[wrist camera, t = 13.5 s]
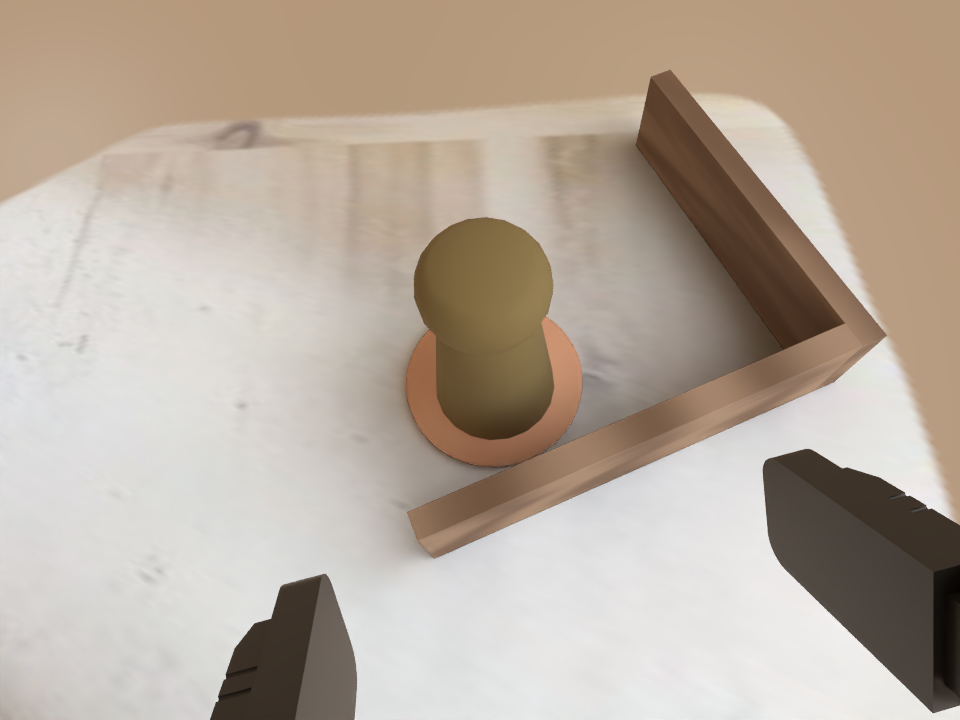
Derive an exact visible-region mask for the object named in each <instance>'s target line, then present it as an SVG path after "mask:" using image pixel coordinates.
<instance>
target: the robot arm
mask: <svg viewBox="0 0 960 720" xmlns="http://www.w3.org/2000/svg"><path fill="white" fill-rule="evenodd" d="M763 481H764V492H765V504H766V516H767V527H768V536H769V540H770V544H771V547H772V549H773V551H774V554H775V555H776V557H777V559H778V561H779V562H780V564H781V565H782V566H783V567H784V569H785V570H786V571H787V572H788V573H789V574H790V575H791V576H792V577H794V578H795V579H796V580H797V581H798V582H799V583H800V584H801V585H802V586H803V587H804V588H805V589H806V590H807V591H808V592H809V593H810V594H811V595H812V596H813V597H814V598H815V599H816V600H817V601H818V602H819V603H820V604H821V605H822V606H823V607H824V608H825V609H826V610H827V611H828V612H830V613H831V614H832V615H833V616H834V617H835V618H836V619H837V620H838V621H839V622H840V623H841V624H842V625H843V626H844V627H845V628H846V629H847V630H848V631H849V632H850V633H851V634H852V635H853V636H854V637H855V638H856V639H857V640H858V641H859V642H860V643H861V644H862V645H863V646H864V647H865V648H867V649H868V650H869V651H870V652H871V653H872V654H873V655H874V656H875V657H876V658H877V659H878V660H879V661H880V662H881V663H882V664H883V665H884V666H885V667H886V668H887V669H888V670H889V671H890V672H891V673H892V674H893V675H894V676H895V677H896V678H897V679H898V680H899V681H900V682H901V683H902V684H904V685H905V686H906V687H907V688H908V689H909V690H910V691H911V692H912V693H913V694H914V695H915V696H916V697H917V698H918V699H919V700H920V701H921V702H922V703H923V704H924V705H925V706H926V707H927V708H928V709H929V710H930V711H931V712H932V713H936V712H939V711H942V710H946V709H949V708H952V707H956V706H959V705H960V525H958V524H957V523H955V522H953V521H952V520H950V519H948V518H947V517H945V516H943V515H942V514H940V513H938V512H937V511H935V510H933V509H929V510H928V509H927V507H926V505H925V504H923V503H921V502H920V501H918V500H916V499H915V498H913V497H911V496H906V495H905V492H903V491H901V490H900V489H898V488H896V487H894V486H893V485H891V484H889V483H888V482H886V481H884V480H883V479H881V478H879V477H876V476H873V475H870V474H866V473H863V472H860V471H857V470H853V469H850V468H843V469H842V468H840V467H839V466H837V465H836V464H834V463H832V462H831V461H829V460H828V459H826V458H824V457H823V456H821V455H820V454H818V453H816V452H815V451H813V450H810V449H804V450H800V451H797V452H793V453H789V454H785V455H781V456H777V457H774V458H770V459H767V460H766V461H765V463H764V465H763ZM356 691H357V672H356V663H355V657H354V652H353V648H352V645H351V642H350V639H349V636H348V632H347V629H346V626H345V623H344V620H343V617H342V614H341V611H340V608H339V605H338V602H337V599H336V596H335V593H334V590H333V587H332V584H331V582H330V579H329V578H328V576H327V575H326V574H322V575H318V576H315V577H311V578H307V579H303V580H299V581H295V582H292V583H288V584H284V585H282V586H281V588H280V590H279V593H278V597H277V600H276V604H275V607H274V611H273V614H272V618H271V619H269V620H265V621H262V622H258V623H255V624H254V625H253V626H252V627H251V629H250V630H249V631H248V632H247V634H246V635H245V636H244V637H243V639H242V640H241V641H240V643H239V644H238V645H237V646H236V648H235V649H234V652H233V655H232V658H231V661H230V664H229V666H228V669H227V672H226V679H225V680H224V681H223V684H222V687H221V690H220V692H219V695H218V698H219V701H218V702H216V704H215V707H214V710H213V713H212V716H211V718H210V720H354V717H355V704H356Z"/></svg>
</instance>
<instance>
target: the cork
mask: <svg viewBox="0 0 960 720" xmlns="http://www.w3.org/2000/svg"><path fill="white" fill-rule="evenodd" d="M552 293H553V280H552V273H551V266H550V264H549V261H548V259H547V257H546V255H545V253H544V251H543V250H542V248H541V246H540V244H539V243H538V242H537V241H536V240H535V239H534V238H533V237H532V236H530V235H529V234H528V233H527V232H526V231H525V230H523V229H521V228H520V227H518V226H515V225H513V224H511V223H509V222H507V221H505V220H499V219H493V218H487V217H486V218H475V219H467V220H464V221H462V222H459V223H456V224H453V225H451V226H449V227H448V228H447V229H445V230H444V231H442V232H441V233H439V234H438V235H437V236H436V237H435V238H434V239H433V240H432V241H431V242H430V243H429V245H428V246H427V247H426V249H425V250H424V251H423V252H422V254H421V256H420V259H419V261H418V264H417V267H416V270H415V275H414V299H415V301H416V304H417V307H418V309H419V312H420V314H421V317H422V319H423V322H424V324H425V325H426V326H427V327H428V328H429V329H430V330H431V331H432V332H433V333H434V334H435V336H436V388H437V399H438V401H439V404H440V406H441V409H442V411H443V413H444V415H445V416H446V417H447V418H448V419H449V420H450V421H451V423H452V424H453V425H454V426H455V427H457V428H458V429H460V430H462V431H463V432H465V433H467V434H468V435H470V436H473V437H478V438H482V439H487V440H498V439H509V438H512V437H514V436H517V435H519V434H521V433H524V432H526V431H528V430H529V429H530V428H531V427H533V426H534V425H535V424H536V423H537V422H539V421H540V420H541V419H542V417H543V416H544V414H545V412H546V411H547V409H548V408H549V406H550V404H551V400H552V396H553V391H554V379H553V371H552V366H551V362H550V358H549V353H548V349H547V345H546V340H545V336H544V331H543V327H542V323H541V322H542V321H543V319H544V318H545V316H546V315H547V313H548V310H549V306H550V302H551V297H552Z"/></svg>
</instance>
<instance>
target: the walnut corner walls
mask: <svg viewBox="0 0 960 720" xmlns="http://www.w3.org/2000/svg"><path fill="white" fill-rule="evenodd" d="M636 145H637V147H638V148H639V149H640V151H641V152H642V153H643V155H644V156H645V158H646V159H647V160H648V162H649V163H650V165H651V166H652V167H653V169H654V170H655V172H656V173H657V174H658V176H659V177H660V178H661V180H662V181H663V183H664V184H665V185H666V187H667V188H668V190H669V191H670V192H671V194H672V195H673V196H674V198H675V199H676V201H677V202H678V203H679V205H680V206H681V208H682V209H683V210H684V212H685V213H686V214H687V216H688V217H689V219H690V220H691V221H692V223H693V224H694V226H695V227H696V228H697V230H698V231H699V232H700V234H701V235H702V237H703V238H704V239H705V241H706V242H707V244H708V245H709V246H710V248H711V249H712V250H713V252H714V253H715V255H716V256H717V257H718V259H719V260H720V262H721V263H722V264H723V266H724V267H725V269H726V270H727V271H728V273H729V274H730V275H731V277H732V278H733V280H734V281H735V282H736V284H737V285H738V287H739V288H740V289H741V291H742V292H743V293H744V295H745V296H746V298H747V299H748V300H749V302H750V303H751V305H752V306H753V307H754V309H755V310H756V311H757V313H758V314H759V316H760V317H761V318H762V320H763V321H764V323H765V324H766V325H767V327H768V328H769V329H770V331H771V332H772V334H773V335H774V336H775V338H776V339H777V341H778V342H779V343H780V345H781V346H782V347H783V349H784V350H782V351H780V352H778V353H775V354H773V355H771V356H768V357H766V358H764V359H761V360H759V361H757V362H754V363H752V364H750V365H747V366H745V367H743V368H740V369H738V370H736V371H734V372H731V373H729V374H727V375H724V376H722V377H720V378H717V379H715V380H713V381H710V382H708V383H706V384H703V385H701V386H699V387H696V388H694V389H692V390H690V391H687V392H685V393H683V394H680V395H678V396H676V397H673V398H671V399H669V400H666V401H664V402H662V403H659V404H657V405H655V406H652V407H650V408H648V409H645V410H643V411H641V412H639V413H636V414H634V415H632V416H629V417H627V418H625V419H622V420H620V421H618V422H615V423H613V424H611V425H608V426H606V427H604V428H601V429H599V430H597V431H594V432H592V433H590V434H588V435H585V436H583V437H581V438H578V439H576V440H574V441H571V442H569V443H567V444H564V445H562V446H560V447H557V448H555V449H553V450H550V451H548V452H546V453H544V454H541V455H539V456H537V457H534V458H532V459H530V460H527V461H525V462H523V463H520V464H518V465H516V466H513V467H511V468H509V469H506V470H504V471H502V472H499V473H497V474H495V475H493V476H490V477H488V478H486V479H483V480H481V481H479V482H476V483H474V484H472V485H469V486H467V487H465V488H462V489H460V490H458V491H455V492H453V493H451V494H448V495H446V496H444V497H442V498H439V499H437V500H435V501H432V502H430V503H428V504H425V505H423V506H421V507H418V508H416V509H414V510H411V511H409V512H407V513H408V516H409V519H410V521H411V524H412V527H413V530H414V532H415V535H416V538H417V541H418V542H419V543H420V544H421V545H422V546H423V547H424V548H425V549H426V550H427V551H428V552H429V553H430V554H431V555H432V557H433V558H434V559H435V558H437V557H439V556H442V555H444V554H446V553H448V552H451V551H453V550H455V549H457V548H460V547H462V546H464V545H466V544H469V543H471V542H473V541H476V540H478V539H480V538H482V537H485V536H487V535H489V534H491V533H494V532H496V531H498V530H500V529H503V528H505V527H507V526H509V525H512V524H514V523H516V522H518V521H521V520H523V519H525V518H528V517H530V516H532V515H534V514H537V513H539V512H541V511H543V510H546V509H548V508H550V507H552V506H555V505H557V504H559V503H561V502H564V501H566V500H568V499H570V498H573V497H575V496H577V495H579V494H582V493H584V492H586V491H589V490H591V489H593V488H595V487H598V486H600V485H602V484H604V483H607V482H609V481H611V480H613V479H616V478H618V477H620V476H622V475H625V474H627V473H629V472H631V471H634V470H636V469H638V468H640V467H643V466H645V465H647V464H650V463H652V462H654V461H656V460H659V459H661V458H663V457H665V456H668V455H670V454H672V453H674V452H677V451H679V450H681V449H683V448H686V447H688V446H690V445H692V444H695V443H697V442H699V441H701V440H704V439H706V438H708V437H711V436H713V435H715V434H717V433H720V432H722V431H724V430H726V429H729V428H731V427H733V426H735V425H738V424H740V423H742V422H744V421H747V420H749V419H751V418H753V417H756V416H758V415H760V414H762V413H765V412H767V411H769V410H772V409H774V408H776V407H778V406H781V405H783V404H785V403H787V402H790V401H792V400H794V399H796V398H799V397H801V396H803V395H805V394H808V393H810V392H812V391H814V390H817V389H819V388H821V387H823V386H826V385H828V384H830V383H833V382H835V381H836V380H837V379H838V378H839V377H840V376H841V375H843V374H844V373H845V372H846V371H847V370H848V369H849V368H851V367H852V366H853V365H854V364H855V363H856V362H857V361H858V360H860V359H861V358H862V357H863V356H864V355H865V354H866V353H868V352H869V351H870V350H871V349H872V348H873V347H874V346H875V345H877V344H878V343H879V342H880V341H881V340H882V339H883V338H885V337H886V336H887V335H886V334H885V332H884V331H883V330H882V329H881V328H880V326H879V325H878V324H877V323H876V321H875V320H874V319H873V318H872V317H871V315H870V314H869V313H868V312H867V310H866V309H865V308H864V307H863V305H862V304H861V303H860V302H859V301H858V299H857V298H856V297H855V296H854V294H853V293H852V292H851V291H850V290H849V288H848V287H847V286H846V285H845V283H844V282H843V281H842V280H841V278H840V277H839V276H838V275H837V274H836V272H835V271H834V270H833V269H832V267H831V266H830V265H829V264H828V263H827V261H826V260H825V259H824V258H823V256H822V255H821V254H820V253H819V252H818V250H817V249H816V248H815V247H814V245H813V244H812V243H811V242H810V240H809V239H808V238H807V237H806V236H805V234H804V233H803V232H802V231H801V229H800V228H799V227H798V226H797V225H796V223H795V222H794V221H793V220H792V218H791V217H790V216H789V215H788V213H787V212H786V211H785V210H784V209H783V207H782V206H781V205H780V204H779V202H778V201H777V200H776V199H775V198H774V196H773V195H772V194H771V193H770V191H769V190H768V189H767V188H766V187H765V185H764V184H763V183H762V182H761V180H760V179H759V178H758V177H757V175H756V174H755V173H754V172H753V171H752V169H751V168H750V167H749V166H748V164H747V163H746V162H745V161H744V160H743V158H742V157H741V156H740V155H739V153H738V152H737V151H736V150H735V148H734V147H733V146H732V145H731V144H730V142H729V141H728V140H727V139H726V137H725V136H724V135H723V134H722V133H721V131H720V130H719V129H718V128H717V126H716V125H715V124H714V123H713V122H712V120H711V119H710V118H709V117H708V115H707V114H706V113H705V112H704V110H703V109H702V108H701V107H700V106H699V104H698V103H697V102H696V101H695V99H694V98H693V97H692V96H691V95H690V93H689V92H688V91H687V90H686V88H685V87H684V86H683V85H682V84H681V82H680V81H679V80H678V79H677V77H676V76H675V75H674V74H673V72H672V71H671V70H669V71H666V72H664V73H660V74H658V75H655V76H652V77H651V79H650V84H649V88H648V92H647V97H646V102H645V106H644V111H643V115H642V120H641V125H640V129H639V134H638V138H637V143H636Z"/></svg>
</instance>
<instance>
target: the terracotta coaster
mask: <svg viewBox="0 0 960 720" xmlns="http://www.w3.org/2000/svg"><path fill="white" fill-rule="evenodd" d="M541 323H542V327H543V331H544V336H545V340H546V345H547V349H548V353H549V358H550V362H551V366H552V371H553V379H554V391H553V396H552V400H551V404H550V406H549V408H548V409H547V411H546V412H545V414H544V416H543V417H542V419H541V420H540V421H539V422H537V423H536V424H535V425H534V426H533V427H531V428H530V429H529V430H528V431H526V432H524V433H521V434H519V435H517V436H514V437H512V438H509V439H498V440H487V439H482V438H478V437H473V436H470V435H468V434H467V433H465V432H463V431H462V430H460V429H458V428H457V427H455V426H454V425H453V424H452V423H451V421H450V420H449V419H448V418H447V417H446V416H445V415H444V413H443V411H442V409H441V406H440V404H439V401H438V399H437V388H436V336H435V334H434V333H433V332H432V331H431V330H430V329H429V330H428V331H427V333H426V334H425V335H424V336H423V338H422V339H421V340H420V341H419V343H418V345H417V347H416V348H415V350H414V352H413V355H412V357H411V360H410V363H409V367H408V371H407V379H406V391H407V398H408V403H409V406H410V409H411V412H412V414H413V416H414V418H415V421H416V423H417V425H418V426H419V428H420V429H421V431H422V432H423V434H424V435H425V436H426V437H427V438H428V439H429V441H430V442H431V443H432V444H434V445H435V446H436V447H437V448H438V449H439V450H441V451H443V452H444V453H446V454H447V455H449V456H451V457H453V458H455V459H457V460H459V461H462V462H465V463H469V464H472V465H478V466H486V467H500V466H509V465H513V464H518V463H521V462H524V461H527V460H530V459H532V458H534V457H536V456H538V455H540V454H541V453H543V452H544V451H546V450H547V449H549V448H550V447H551V446H552V445H554V444H555V443H556V442H557V441H558V440H559V439H560V438H561V437H562V435H563V434H564V433H565V432H566V431H567V429H568V428H569V426H570V424H571V423H572V421H573V419H574V417H575V414H576V412H577V409H578V406H579V402H580V398H581V392H582V371H581V365H580V361H579V358H578V355H577V353H576V351H575V348H574V346H573V344H572V343H571V341H570V340H569V338H568V337H567V335H566V334H565V333H564V332H563V331H562V330H561V328H560V327H558V326H557V325H556V324H555V323H554V322H553V321H552V320H550V319H549V318H547V317H546V316H545V318H544V319H543V321H542V322H541Z"/></svg>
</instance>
